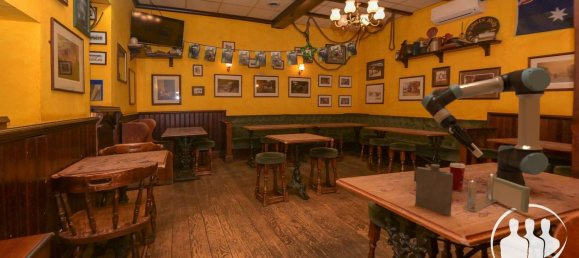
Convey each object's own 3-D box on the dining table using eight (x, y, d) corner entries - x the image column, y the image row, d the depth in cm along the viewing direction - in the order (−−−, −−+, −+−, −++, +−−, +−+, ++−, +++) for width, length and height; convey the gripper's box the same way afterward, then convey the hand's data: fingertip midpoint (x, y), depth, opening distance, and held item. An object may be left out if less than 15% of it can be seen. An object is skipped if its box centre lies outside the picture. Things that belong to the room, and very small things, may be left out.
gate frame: (486, 198, 145) (487, 172, 144) (497, 200, 141) (499, 174, 140) (463, 208, 130) (464, 180, 129) (475, 212, 126) (477, 182, 125)
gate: (491, 198, 140) (493, 177, 139) (496, 198, 140) (497, 177, 139) (523, 212, 122) (525, 188, 121) (528, 212, 122) (530, 188, 121)
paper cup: (466, 191, 156) (468, 165, 154) (450, 190, 157) (452, 165, 156) (461, 187, 163) (462, 162, 162) (446, 186, 165) (447, 162, 164)
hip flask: (413, 205, 135) (415, 162, 133) (419, 203, 137) (421, 161, 135) (448, 216, 121) (450, 168, 120) (453, 214, 123) (456, 167, 122)
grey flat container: (427, 179, 182) (427, 164, 181) (431, 180, 179) (432, 165, 178) (413, 181, 177) (414, 165, 176) (417, 182, 174) (418, 166, 174)
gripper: (446, 123, 157) (479, 158, 145) (433, 124, 149) (468, 162, 137) (457, 113, 152) (492, 149, 141) (445, 114, 145) (481, 152, 133)
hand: (480, 155), depth 139 cm, fingers closed
